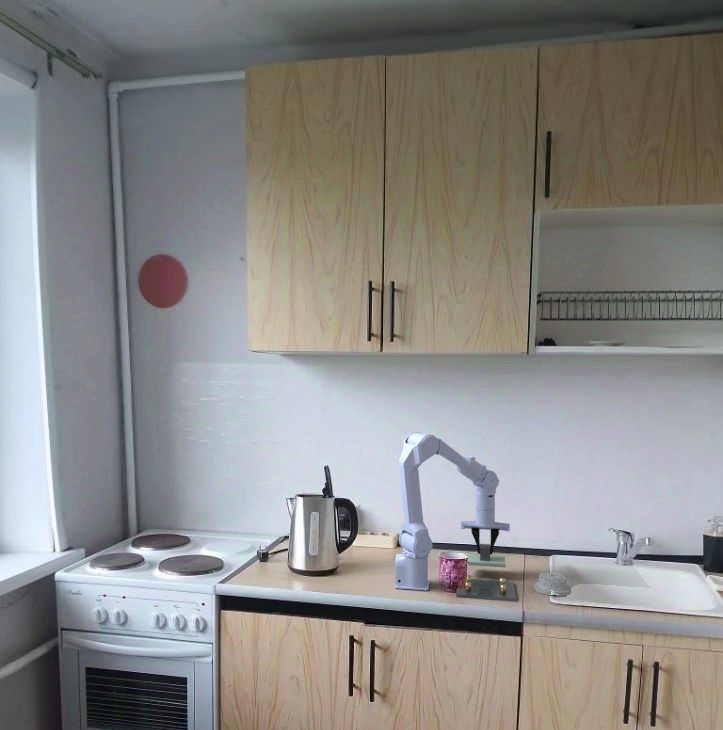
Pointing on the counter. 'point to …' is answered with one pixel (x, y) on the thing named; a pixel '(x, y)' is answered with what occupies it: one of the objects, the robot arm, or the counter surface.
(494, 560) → the circuit board
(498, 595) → the plate
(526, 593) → the counter surface
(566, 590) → the mechanical component
